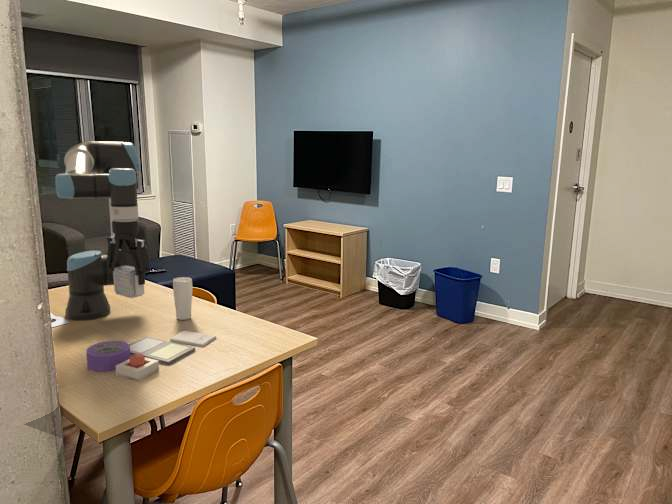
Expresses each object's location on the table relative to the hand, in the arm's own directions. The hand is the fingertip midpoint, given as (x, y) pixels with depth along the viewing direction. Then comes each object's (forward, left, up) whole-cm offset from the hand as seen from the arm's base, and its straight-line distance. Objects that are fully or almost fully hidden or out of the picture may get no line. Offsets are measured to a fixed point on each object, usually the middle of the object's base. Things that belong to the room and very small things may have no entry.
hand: (129, 292), depth 157 cm
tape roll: (+3, -12, -19) cm, 22 cm away
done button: (+15, -13, -16) cm, 25 cm away
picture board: (+9, +1, -18) cm, 20 cm away
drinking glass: (-4, +29, -19) cm, 35 cm away
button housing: (+15, -13, -18) cm, 27 cm away
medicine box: (0, 0, -1) cm, 1 cm away
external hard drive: (+12, +14, -19) cm, 27 cm away
